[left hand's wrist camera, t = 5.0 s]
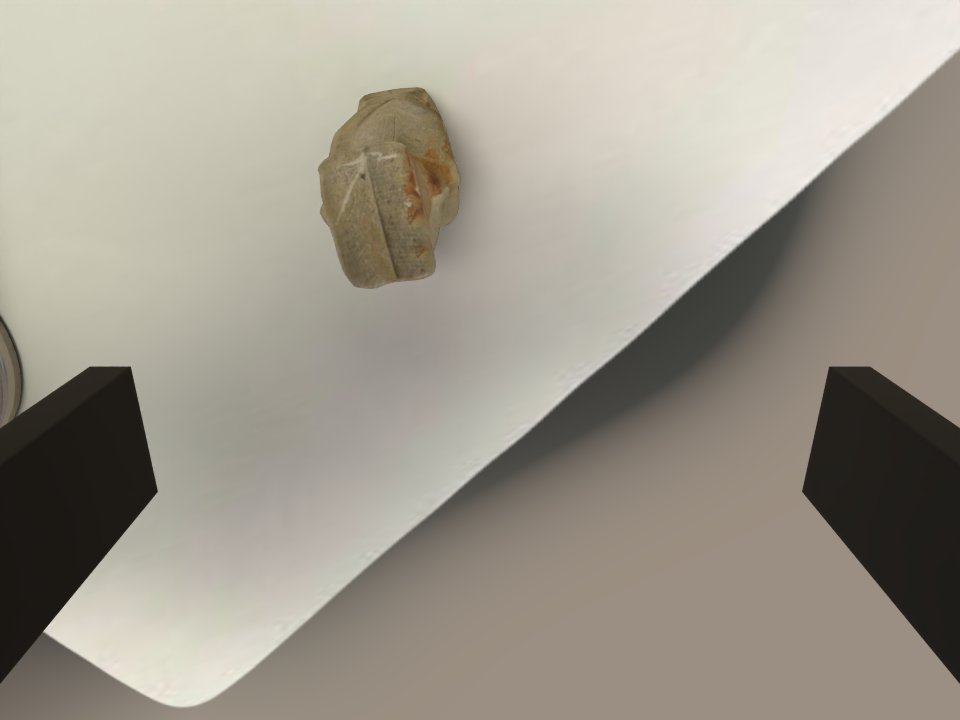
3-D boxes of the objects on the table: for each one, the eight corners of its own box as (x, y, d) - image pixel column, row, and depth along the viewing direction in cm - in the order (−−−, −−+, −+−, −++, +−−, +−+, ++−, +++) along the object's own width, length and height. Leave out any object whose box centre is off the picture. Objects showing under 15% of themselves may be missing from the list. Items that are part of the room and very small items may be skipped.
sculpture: (371, 230, 37) (306, 308, 23) (348, 96, 35) (260, 93, 21) (471, 219, 37) (466, 291, 23) (456, 83, 34) (441, 72, 21)
